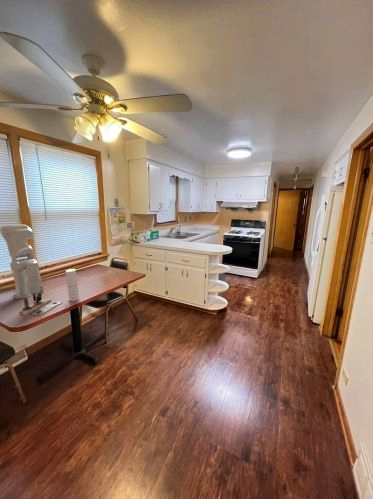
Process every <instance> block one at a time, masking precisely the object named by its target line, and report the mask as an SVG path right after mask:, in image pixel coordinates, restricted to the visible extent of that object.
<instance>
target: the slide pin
mask: <svg viewBox="0 0 373 499" xmlns="http://www.w3.org/2000/svg"><path fill="white" fill-rule="evenodd" d="M35 299H36V301H33V304H41V303H43V302H42V301H39V302H37V294H36V293H35Z"/></svg>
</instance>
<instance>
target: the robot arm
mask: <svg viewBox="0 0 373 499" xmlns="http://www.w3.org/2000/svg"><path fill="white" fill-rule="evenodd" d="M0 234H1V236H2V238H3V239H4V241H5V242H6V245H7V250H8V253H9V257H10V258H11V262H10V263H9V264H10V270H11V272H12V275H13V280H14V286H15V291H14V292H13V293H14V294H15V295H14V298H15V299H26V298H29V297H32V299H33V302H36V299H35V293H36V294H37V302H39V301H41V300H43V299H42V295H43V294H44V293H45V292H44V283H43V281H42V278H41V274H40V273H41V272H40V267H39V262H38V261H37V258H36V255H35V251H34V249H33V247H32V245H29V243H28V240H32V239H34V237H35V234H34V231H33V229H31V227H29V226H28V225H27V224H10V225H9V224H8V225H7V224H6V225H3V226H1V227H0Z"/></svg>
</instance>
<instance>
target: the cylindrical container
mask: <svg viewBox="0 0 373 499" xmlns="http://www.w3.org/2000/svg"><path fill="white" fill-rule="evenodd" d="M76 271H77V269H76V268H70V269H66V270H65V277H66V278H65V279H66V284H67V293H68V300H69V301H70V302H76V301H78V300H79V299H80V295H79V286H78V278H77V272H76Z"/></svg>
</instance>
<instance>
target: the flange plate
mask: <svg viewBox="0 0 373 499" xmlns="http://www.w3.org/2000/svg"><path fill="white" fill-rule="evenodd" d="M62 303H63V302H62V301H56V300H54V301H51V302H49V303H47V304H46V305H44V306H42V308H41V307H40V309H39V308H38V310H36V311H35V312H34V311H33V313H32V312H31V316H38V317H41V316H43V315H44V314H46V313H48V312H49V311H51V310H52V309H55V308H56V307H58V306H59V305H61V304H62ZM42 314H43V315H42Z"/></svg>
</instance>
